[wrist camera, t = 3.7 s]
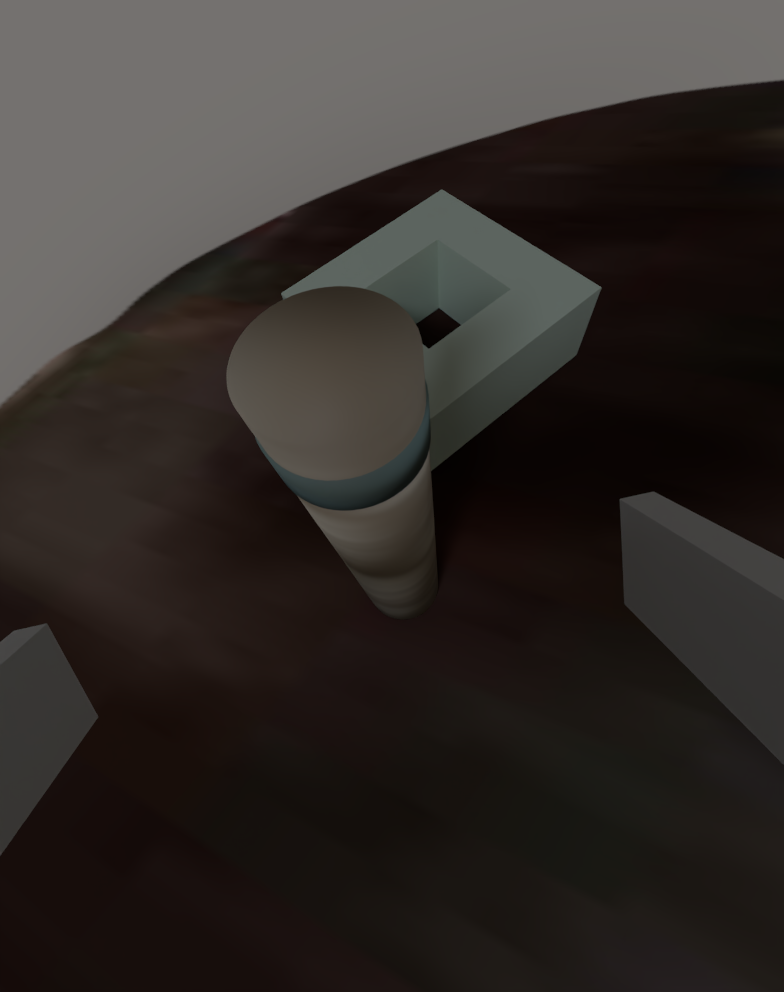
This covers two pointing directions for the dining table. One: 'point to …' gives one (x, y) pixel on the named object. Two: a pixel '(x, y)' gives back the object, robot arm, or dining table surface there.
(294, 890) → the dining table surface
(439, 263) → the grey square-hole block
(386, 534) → the tan cylinder
